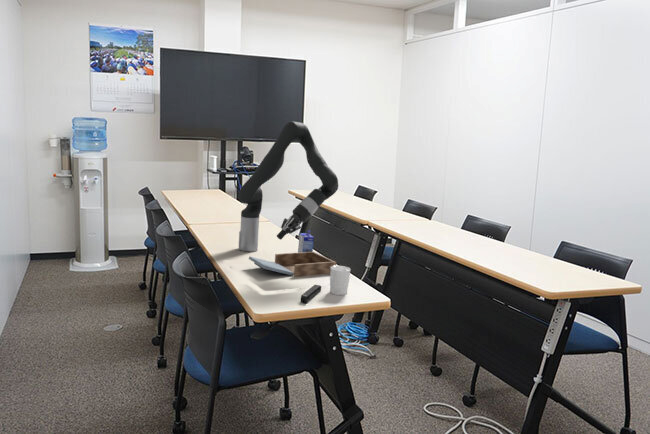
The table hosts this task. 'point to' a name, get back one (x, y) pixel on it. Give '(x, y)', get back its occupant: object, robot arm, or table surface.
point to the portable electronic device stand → (310, 294)
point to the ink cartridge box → (305, 242)
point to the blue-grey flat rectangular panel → (270, 266)
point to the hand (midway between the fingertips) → (278, 238)
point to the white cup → (339, 279)
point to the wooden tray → (305, 263)
